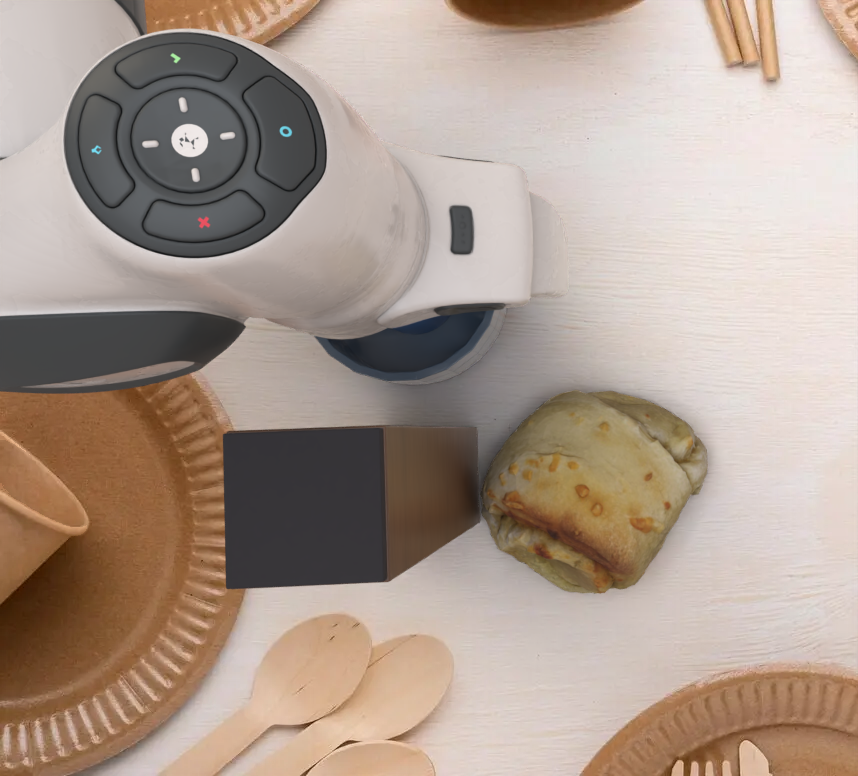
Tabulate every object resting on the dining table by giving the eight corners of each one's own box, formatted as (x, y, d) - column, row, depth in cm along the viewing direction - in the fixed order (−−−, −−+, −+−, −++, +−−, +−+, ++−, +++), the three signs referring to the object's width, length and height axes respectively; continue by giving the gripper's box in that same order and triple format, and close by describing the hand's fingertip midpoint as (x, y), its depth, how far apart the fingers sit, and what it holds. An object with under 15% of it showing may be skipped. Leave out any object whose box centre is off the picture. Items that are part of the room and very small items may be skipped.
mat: (231, 587, 40) (225, 589, 39) (227, 433, 40) (221, 433, 39) (387, 579, 40) (384, 582, 40) (383, 427, 40) (379, 427, 40)
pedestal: (382, 527, 66) (228, 589, 40) (380, 431, 66) (225, 430, 40) (480, 523, 66) (390, 582, 40) (477, 427, 66) (385, 425, 40)
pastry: (484, 592, 66) (466, 614, 58) (480, 393, 66) (462, 388, 58) (709, 584, 67) (721, 605, 59) (703, 388, 67) (715, 382, 59)
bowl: (327, 388, 66) (300, 384, 60) (322, 206, 66) (295, 186, 61) (511, 381, 67) (501, 377, 61) (505, 202, 67) (495, 182, 62)
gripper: (92, 315, 46) (213, 342, 60) (562, 301, 48) (575, 331, 61) (90, 172, 46) (211, 232, 60) (557, 163, 48) (571, 223, 62)
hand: (398, 281), depth 61 cm, fingers open, 5 cm apart
